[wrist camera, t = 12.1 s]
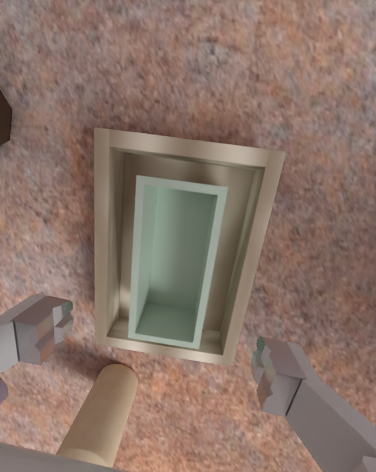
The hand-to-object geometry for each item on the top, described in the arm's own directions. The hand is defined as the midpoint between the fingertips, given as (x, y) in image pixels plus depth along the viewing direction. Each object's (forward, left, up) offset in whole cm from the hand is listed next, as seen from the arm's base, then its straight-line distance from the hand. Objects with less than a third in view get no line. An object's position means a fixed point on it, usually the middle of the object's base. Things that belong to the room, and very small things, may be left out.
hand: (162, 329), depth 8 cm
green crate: (+1, +1, -12) cm, 12 cm away
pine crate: (+1, +1, -13) cm, 13 cm away
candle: (+7, +21, -13) cm, 25 cm away
